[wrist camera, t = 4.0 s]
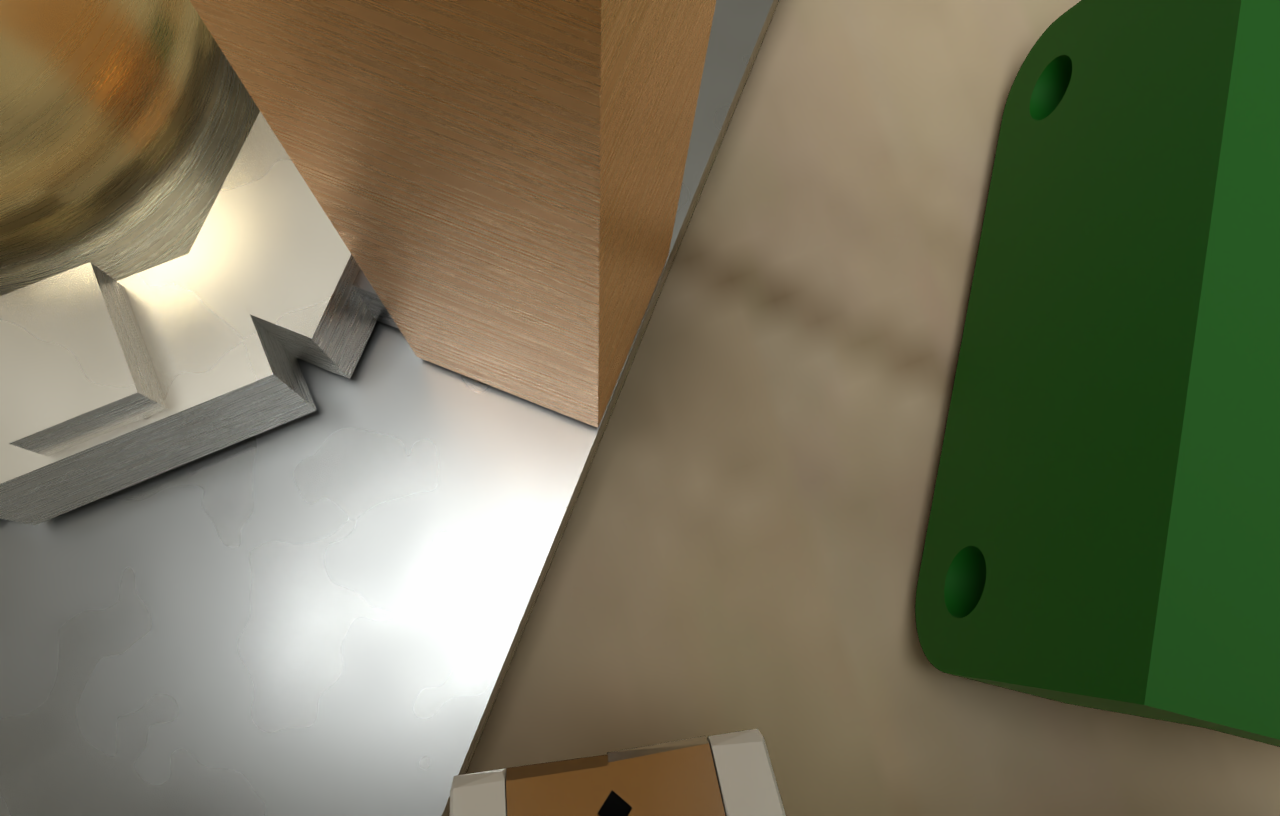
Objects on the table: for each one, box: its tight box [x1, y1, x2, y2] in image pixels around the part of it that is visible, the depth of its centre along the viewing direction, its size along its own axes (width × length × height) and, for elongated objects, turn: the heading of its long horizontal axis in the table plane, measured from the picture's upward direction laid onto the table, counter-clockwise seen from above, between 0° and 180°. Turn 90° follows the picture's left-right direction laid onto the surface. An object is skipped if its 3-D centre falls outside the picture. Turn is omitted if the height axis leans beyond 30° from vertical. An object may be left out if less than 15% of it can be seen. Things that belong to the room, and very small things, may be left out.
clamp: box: [915, 0, 1280, 747], centre depth 17 cm, size 12×6×9 cm, turn 161°
